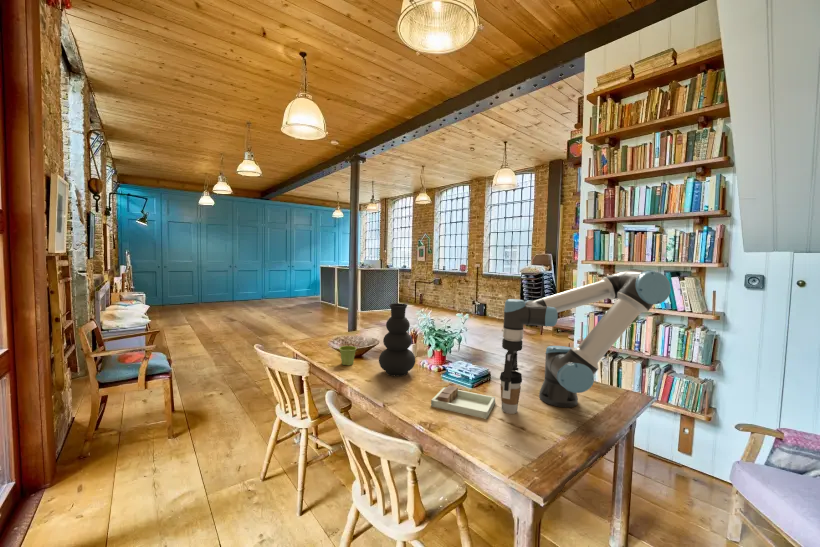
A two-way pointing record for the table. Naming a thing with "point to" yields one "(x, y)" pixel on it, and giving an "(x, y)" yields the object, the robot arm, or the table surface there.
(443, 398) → the walnut block
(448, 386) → the walnut block
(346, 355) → the plant pot
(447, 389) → the walnut block
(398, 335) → the vase
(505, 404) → the coffee cup
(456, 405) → the tray
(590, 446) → the table surface
